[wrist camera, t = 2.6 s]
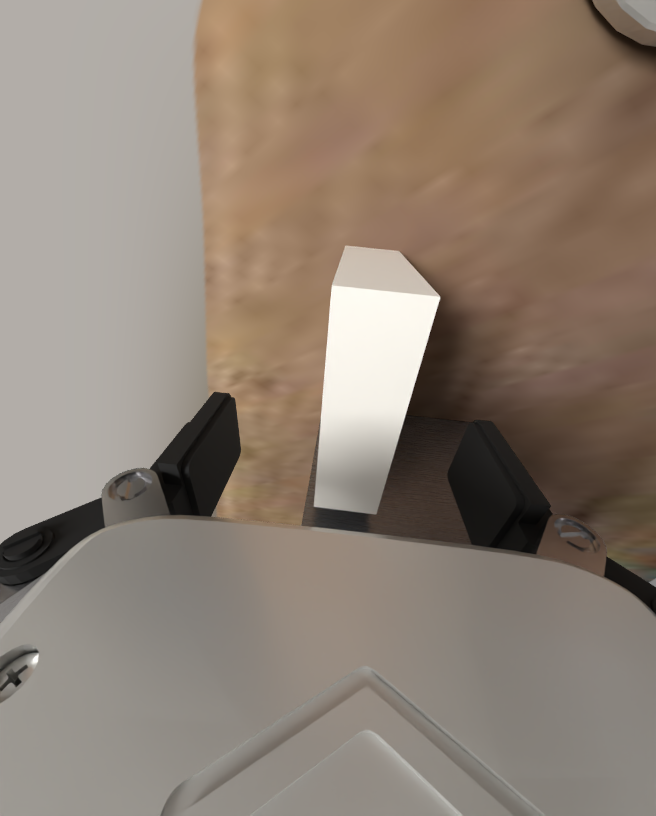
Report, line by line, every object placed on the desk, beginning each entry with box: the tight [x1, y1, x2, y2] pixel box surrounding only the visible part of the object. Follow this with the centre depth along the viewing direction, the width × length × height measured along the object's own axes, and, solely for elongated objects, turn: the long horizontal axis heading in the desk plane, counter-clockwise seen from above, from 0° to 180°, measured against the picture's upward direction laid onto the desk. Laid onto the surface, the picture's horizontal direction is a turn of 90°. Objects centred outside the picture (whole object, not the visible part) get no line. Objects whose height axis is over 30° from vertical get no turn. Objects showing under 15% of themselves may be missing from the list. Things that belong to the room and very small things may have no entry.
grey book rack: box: [301, 415, 472, 545], centre depth 23 cm, size 22×12×13 cm, turn 176°
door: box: [314, 246, 440, 514], centre depth 15 cm, size 10×3×10 cm, turn 176°
